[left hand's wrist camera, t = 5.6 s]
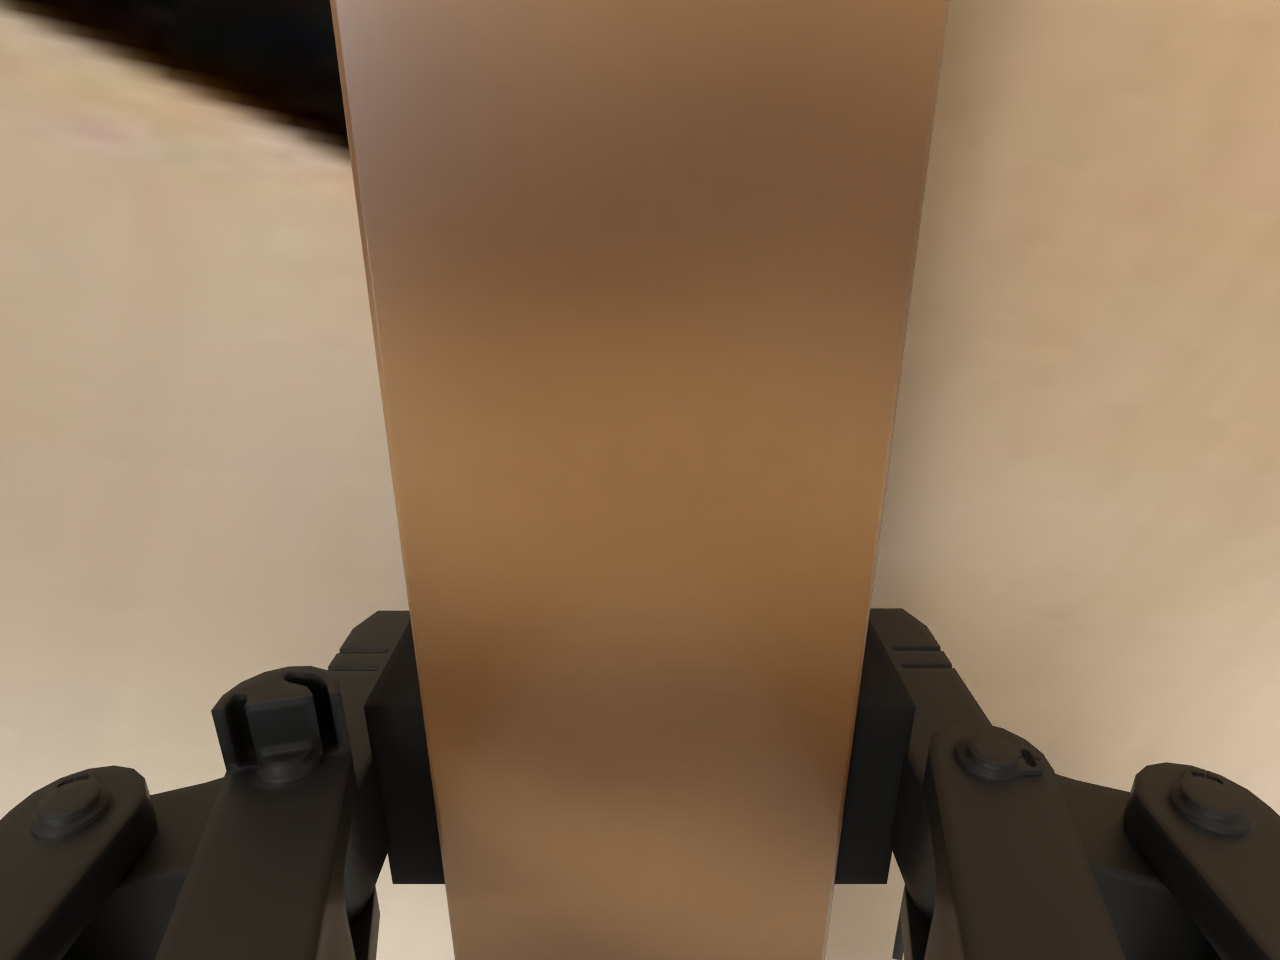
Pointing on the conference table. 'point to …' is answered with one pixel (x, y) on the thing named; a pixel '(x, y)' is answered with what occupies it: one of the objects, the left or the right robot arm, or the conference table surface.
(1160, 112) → the conference table surface
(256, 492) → the conference table surface
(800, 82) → the bar
